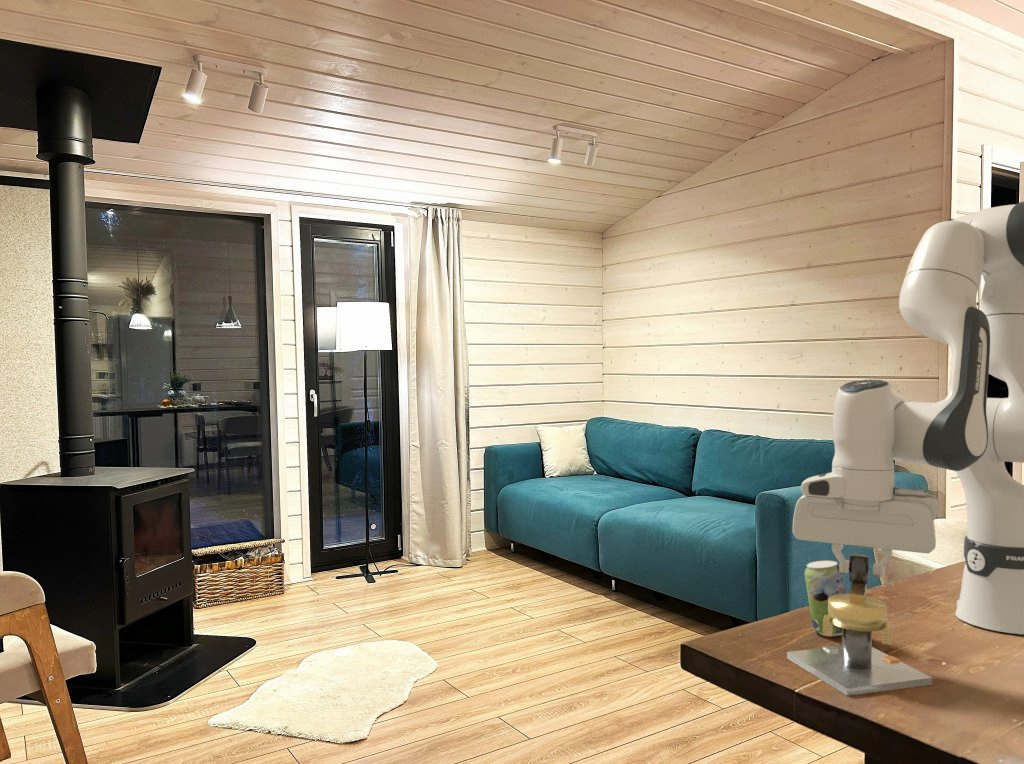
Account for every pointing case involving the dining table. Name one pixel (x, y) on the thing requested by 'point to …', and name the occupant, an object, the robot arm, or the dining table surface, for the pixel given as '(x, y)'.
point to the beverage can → (823, 590)
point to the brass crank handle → (858, 605)
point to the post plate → (858, 677)
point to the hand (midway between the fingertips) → (861, 574)
